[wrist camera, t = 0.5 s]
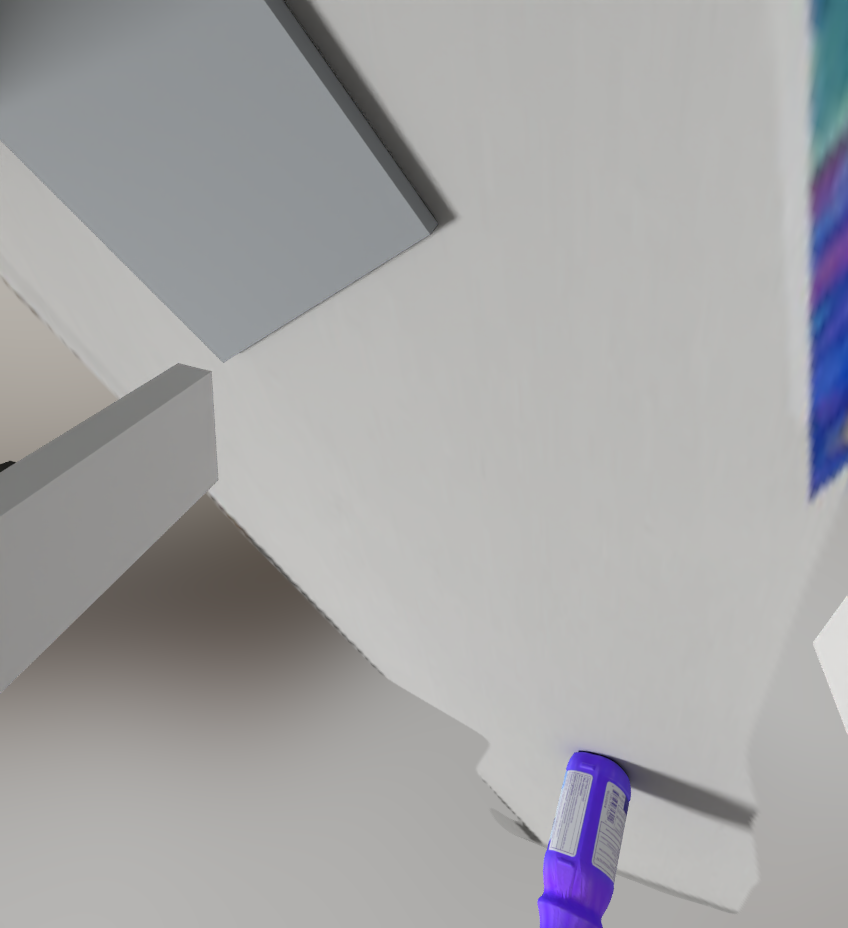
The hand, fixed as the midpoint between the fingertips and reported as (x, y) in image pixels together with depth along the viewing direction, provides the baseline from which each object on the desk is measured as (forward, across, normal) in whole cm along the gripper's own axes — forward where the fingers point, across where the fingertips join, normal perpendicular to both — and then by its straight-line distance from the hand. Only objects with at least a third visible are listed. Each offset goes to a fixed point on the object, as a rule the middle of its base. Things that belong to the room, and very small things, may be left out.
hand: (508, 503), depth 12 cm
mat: (+14, -16, +3) cm, 22 cm away
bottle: (+29, +16, -47) cm, 58 cm away
